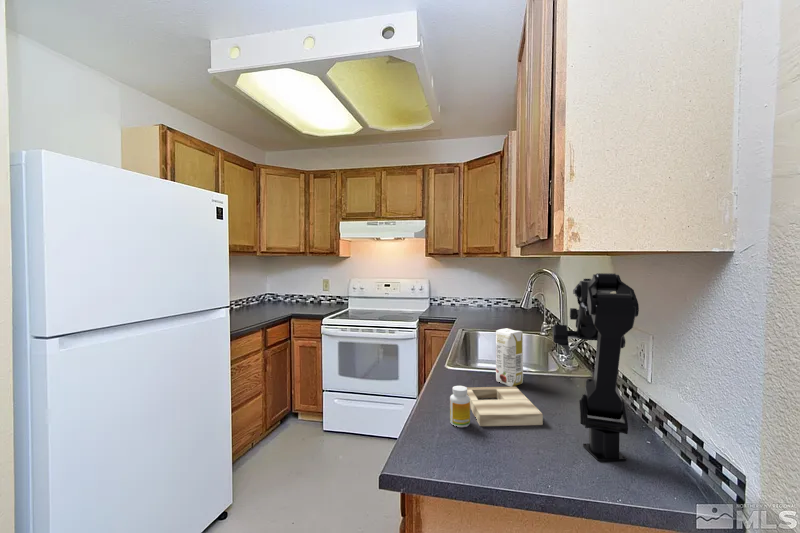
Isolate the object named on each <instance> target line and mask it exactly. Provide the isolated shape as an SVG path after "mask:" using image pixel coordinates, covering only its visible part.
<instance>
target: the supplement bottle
mask: <svg viewBox="0 0 800 533" xmlns="http://www.w3.org/2000/svg"><path fill="white" fill-rule="evenodd" d="M449 423H450V424H451V425H452V426H453V425H454V427H456V426H457V427H456V428H467V427H468V426H470V424H471V408H470V398H469V396H468V395H467V386H464V385H454V386H452V394H451V395H450V396H449Z"/></svg>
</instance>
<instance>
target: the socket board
mask: <svg viewBox="0 0 800 533" xmlns="http://www.w3.org/2000/svg"><path fill="white" fill-rule="evenodd" d="M466 388H467V395H468V396H469V398H470V411H471V412H472V414H473V416H474V417H476V418H475V420H476V419H477V420H476V422H477V423H478V425H479V427H507V426H509V427H510V426H512V427H513V426H543V423H544V422H543V421H544V419H543V417H544V416H543V415H544V414H543V412H541V411H540V410H539V408H538V407H537V406H535V405H534V404H533V403H532V401H530V399H529V398H527V397H526V396H525V394H524V393H522V391H521V390H520V389H519V388H518V387H517V386H513V387H510V386H482V387H481V386H479V387H477V386H476V387H474V386H473V387H467V386H466Z"/></svg>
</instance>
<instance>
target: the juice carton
mask: <svg viewBox="0 0 800 533" xmlns="http://www.w3.org/2000/svg"><path fill="white" fill-rule="evenodd" d="M523 333H524V332H523V331H522V330H514V329H512V328H507V327H506V328H500V329H497V330H495V379H496V380H495V381H496V383H497V382H498V383H499V382H500V384H502V385H505V386H506V387H517V386H518V385H521V384H523V382H524V381H523V380H524V379H523V378H524V336H523V335H524V334H523Z"/></svg>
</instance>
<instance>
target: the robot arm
mask: <svg viewBox="0 0 800 533" xmlns="http://www.w3.org/2000/svg"><path fill="white" fill-rule="evenodd" d="M612 292H615V293H612ZM572 294H573V295H574V296H575V297H576V300H577V304H578V305H579V306H578V309H577V308H570V309H569V320H575V328H576V330H568V326H567V324H554V325H553V326H552V340H553V343H555V344H557V345H559V346H561V347H563V349H564V350H565V352H566V354H567V355H570V354H571V350H570V344H569V339H574V340H586V341H597V342H596V352H595V361H594V363H595V364H594V372H593V373H594V374H593V378H587V379H586V381H585V388H584V394H581V397H580V399H579V401H578V402H579V403H578V404H579V416H580V417H579V423H580V425H582V426H584V428H585V429H588V443H582V447H583V448H584V449H585V450H586V451H587V452H589V453H590V455H592V457H594V459H595V460H597V461H599V462H611V461H613V462H615V461H617V462H619V461H627V457H626V456H625V455H624V454H623V453H621V452H620V433H621V434H623V435H624V434H625V435H628V432H629V425H628V424H629V423H628V419H627V418H628V417H627V412H626V407H625V402H624V399H623V398H622V396H621V392H620V389H619V387H618V385H617V384H618V383H617V382H618V373H619V366H620V356H621V349H624V348H625V347H626V338H625V335H626V334H627V333H628V332H629V331H631V330H632V329H633V328H634V324H635V320H636V318H637V317H638V316H639V311H640V310H639V309H640V308H639V302H638V299H637V296H636V293H635V290H634V289H633V288H632V287H630V285H628V284H627V283H625V282H624V281H622V279H621V276H620V275H619V274H616V273H609V272H608V273H605V272H603V273H602V272H601V273H599V272H598V273H596V274H592V278H583V280H580V281H579V282H578V284H576V286H575V288H574V289H573V290H572ZM589 416H590V417H589ZM593 417H594V418H593ZM595 417H598V418H595ZM601 418H603V419H601ZM604 418H605V419H604ZM609 419H611V420H609ZM615 420H619V421H615Z"/></svg>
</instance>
